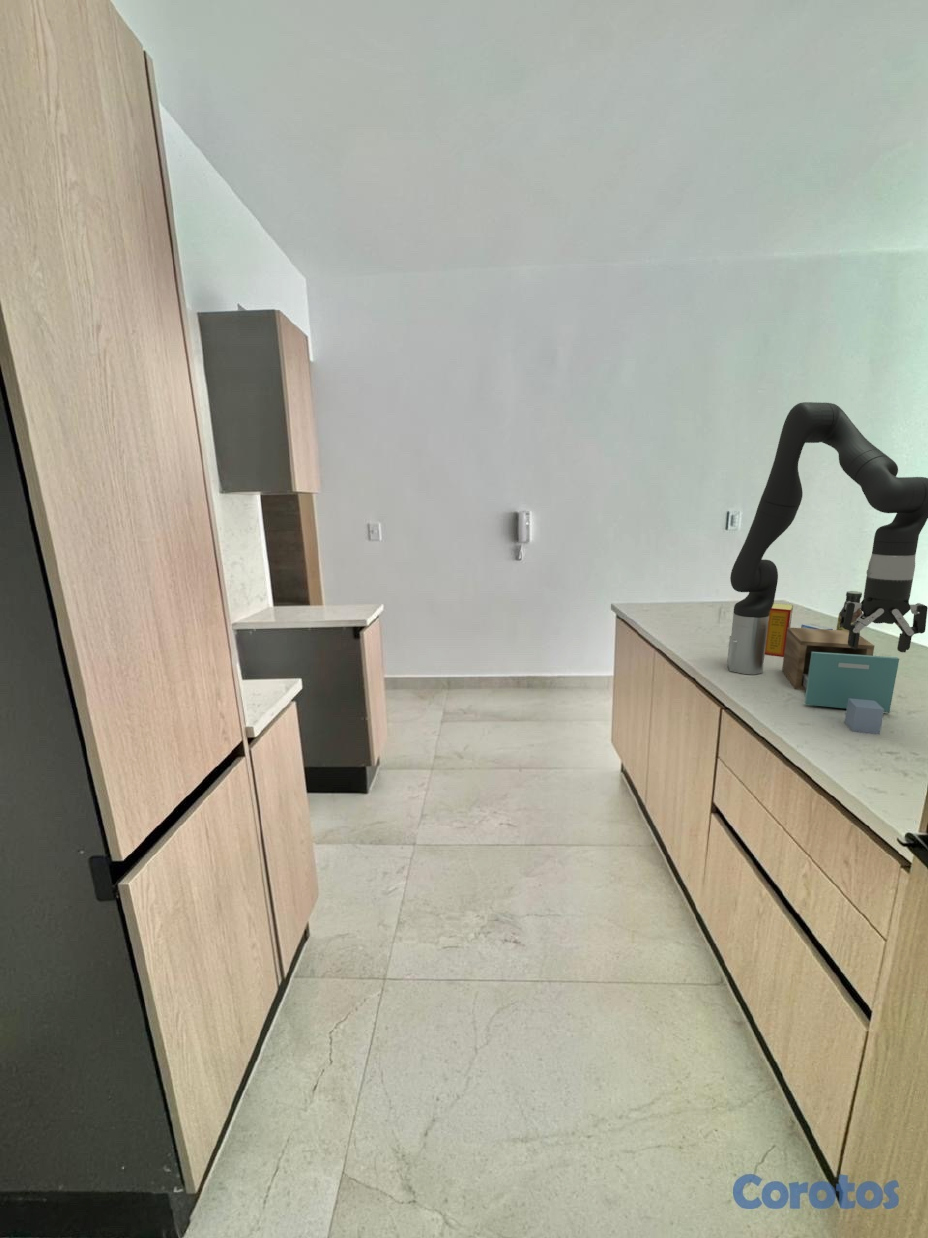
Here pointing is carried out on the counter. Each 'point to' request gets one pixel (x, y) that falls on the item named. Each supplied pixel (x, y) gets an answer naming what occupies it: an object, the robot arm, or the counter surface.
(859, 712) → the slate-blue block
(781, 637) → the baking soda box
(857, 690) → the drawer
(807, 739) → the counter surface
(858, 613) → the sauce bottle
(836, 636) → the cabinet
